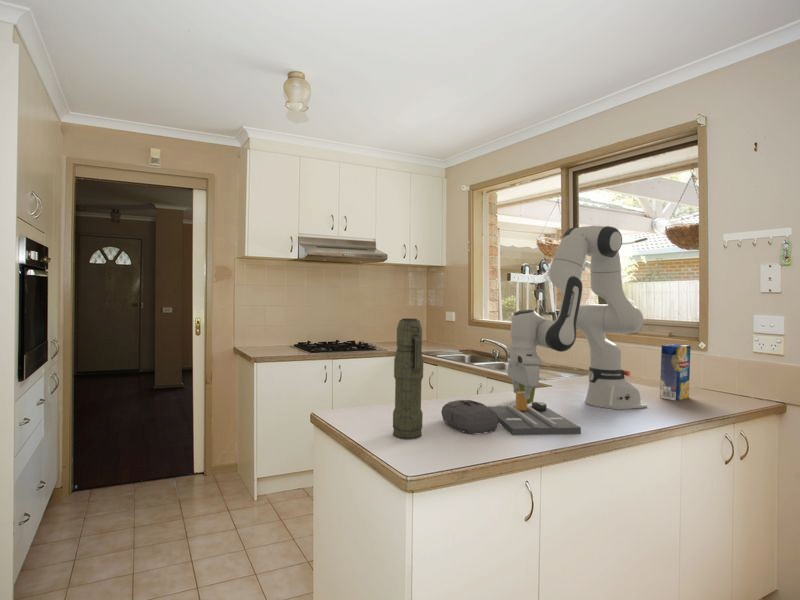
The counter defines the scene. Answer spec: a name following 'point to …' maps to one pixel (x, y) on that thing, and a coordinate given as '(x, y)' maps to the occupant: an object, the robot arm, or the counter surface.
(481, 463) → the counter surface
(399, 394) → the thermos
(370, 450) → the counter surface
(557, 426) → the console board
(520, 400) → the fader knob
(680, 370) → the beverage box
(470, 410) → the small grey backpack
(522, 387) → the plant pot
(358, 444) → the counter surface
